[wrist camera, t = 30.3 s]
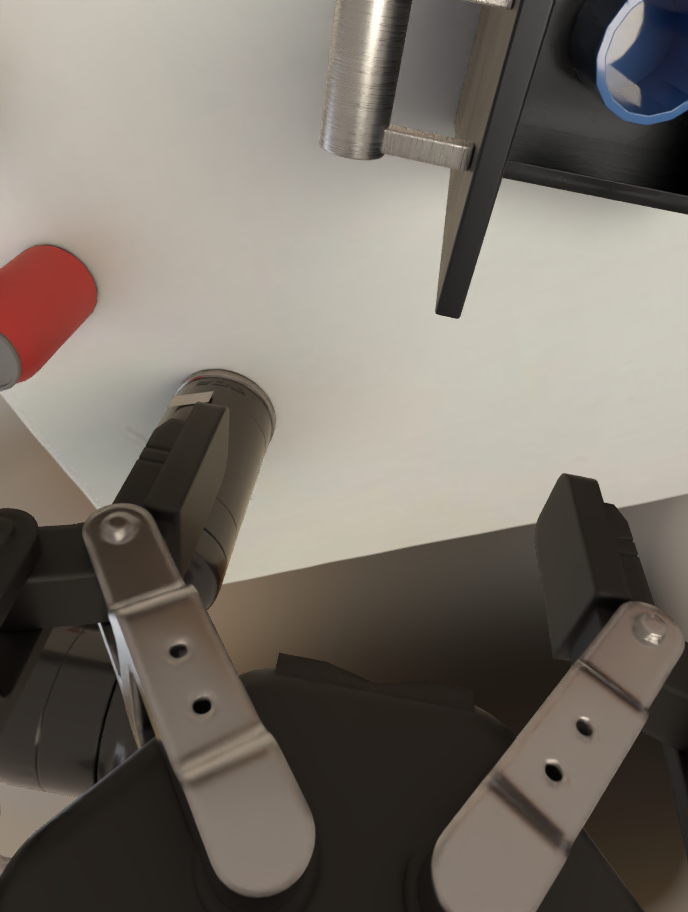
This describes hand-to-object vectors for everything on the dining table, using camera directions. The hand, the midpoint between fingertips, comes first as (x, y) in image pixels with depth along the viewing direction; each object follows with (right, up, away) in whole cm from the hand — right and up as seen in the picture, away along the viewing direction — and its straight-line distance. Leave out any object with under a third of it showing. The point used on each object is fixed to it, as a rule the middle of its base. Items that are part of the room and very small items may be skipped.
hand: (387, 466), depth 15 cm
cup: (+15, +24, +21) cm, 36 cm away
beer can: (-24, +15, +36) cm, 46 cm away
